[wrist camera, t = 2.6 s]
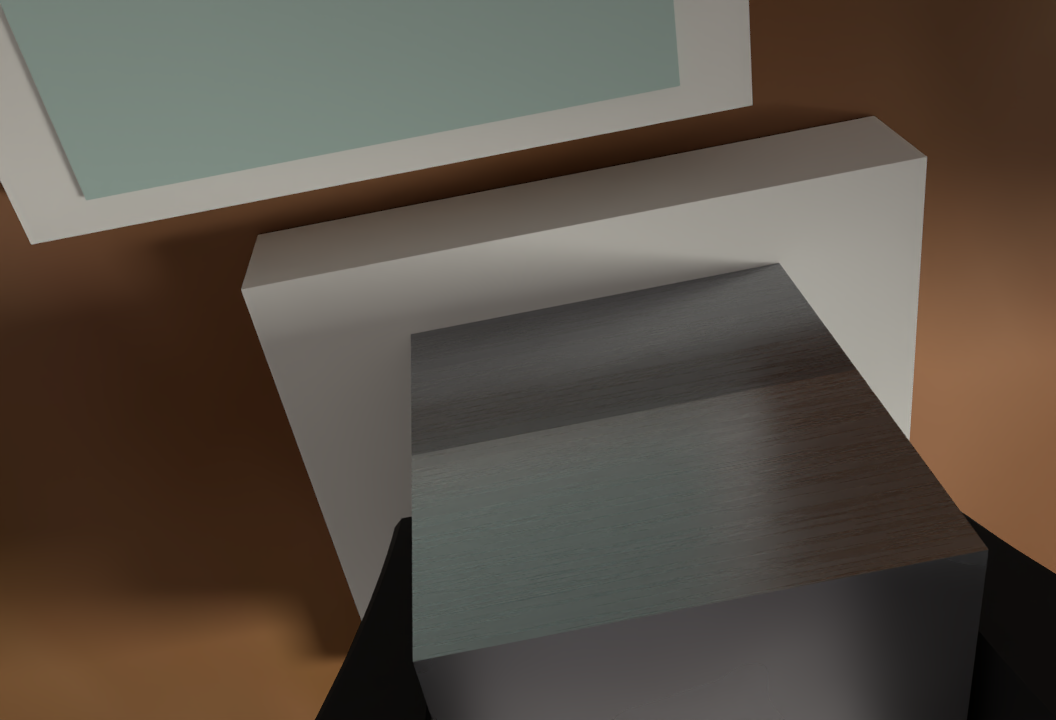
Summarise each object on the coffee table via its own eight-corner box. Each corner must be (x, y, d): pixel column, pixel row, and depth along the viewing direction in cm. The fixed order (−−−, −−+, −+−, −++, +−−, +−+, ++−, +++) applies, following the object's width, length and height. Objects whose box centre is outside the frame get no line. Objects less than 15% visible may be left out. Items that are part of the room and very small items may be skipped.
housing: (778, 263, 12) (989, 549, 8) (787, 609, 15) (937, 947, 11) (411, 334, 12) (413, 661, 7) (498, 666, 15) (534, 1027, 11)
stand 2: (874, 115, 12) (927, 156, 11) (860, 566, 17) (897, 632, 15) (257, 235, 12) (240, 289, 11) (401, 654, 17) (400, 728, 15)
